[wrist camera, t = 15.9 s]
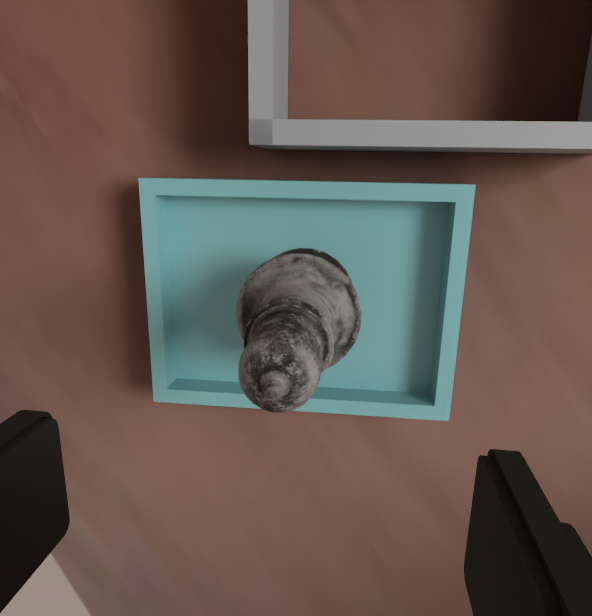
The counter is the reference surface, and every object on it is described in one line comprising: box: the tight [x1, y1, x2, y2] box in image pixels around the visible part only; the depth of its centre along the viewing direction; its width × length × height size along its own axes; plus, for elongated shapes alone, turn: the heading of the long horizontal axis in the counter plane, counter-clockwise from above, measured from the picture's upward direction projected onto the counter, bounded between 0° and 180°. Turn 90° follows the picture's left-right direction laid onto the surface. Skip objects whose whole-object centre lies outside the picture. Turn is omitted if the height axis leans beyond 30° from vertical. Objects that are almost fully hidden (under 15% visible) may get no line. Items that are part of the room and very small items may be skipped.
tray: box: [138, 177, 476, 421], centre depth 26 cm, size 16×12×2 cm
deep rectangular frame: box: [248, 0, 592, 154], centre depth 21 cm, size 16×11×5 cm
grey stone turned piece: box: [237, 248, 362, 413], centre depth 20 cm, size 6×6×12 cm
